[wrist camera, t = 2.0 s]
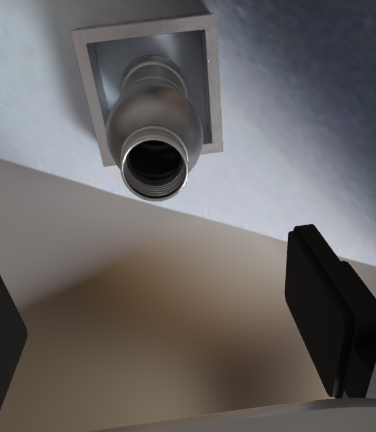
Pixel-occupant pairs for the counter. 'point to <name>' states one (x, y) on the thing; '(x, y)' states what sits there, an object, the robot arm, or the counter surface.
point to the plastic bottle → (154, 129)
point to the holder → (89, 35)
